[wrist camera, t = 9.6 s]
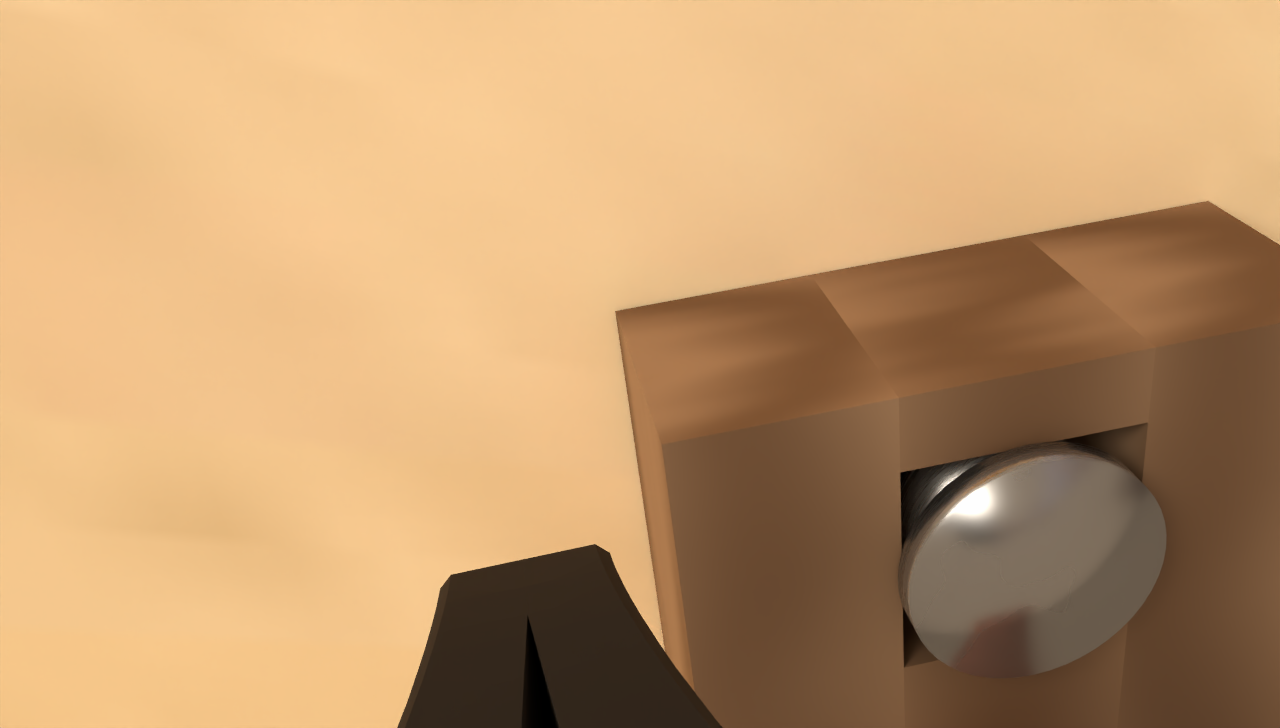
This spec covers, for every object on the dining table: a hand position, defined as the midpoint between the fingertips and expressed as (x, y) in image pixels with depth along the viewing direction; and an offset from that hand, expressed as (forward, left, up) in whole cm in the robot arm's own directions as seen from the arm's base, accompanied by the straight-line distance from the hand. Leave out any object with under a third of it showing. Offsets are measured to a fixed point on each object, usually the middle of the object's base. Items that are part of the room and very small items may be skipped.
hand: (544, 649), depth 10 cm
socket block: (-7, +11, -9) cm, 16 cm away
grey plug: (-7, +5, -9) cm, 12 cm away
